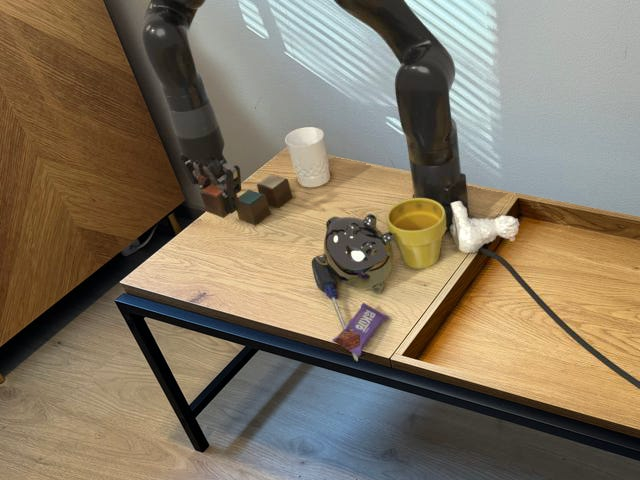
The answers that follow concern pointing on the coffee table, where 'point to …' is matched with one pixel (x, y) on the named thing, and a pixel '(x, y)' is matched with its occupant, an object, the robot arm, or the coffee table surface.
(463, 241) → the sitting furry creature
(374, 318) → the snack package
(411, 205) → the flower pot
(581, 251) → the coffee table surface
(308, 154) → the white cup
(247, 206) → the teal topped brown block
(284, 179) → the brown block
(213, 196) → the red-topped brown block
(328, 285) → the screwdriver
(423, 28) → the robot arm
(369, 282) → the piggy bank
